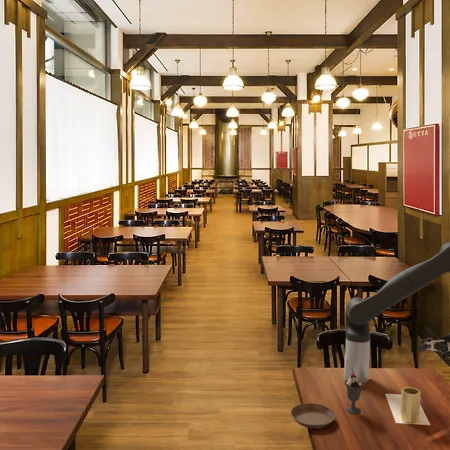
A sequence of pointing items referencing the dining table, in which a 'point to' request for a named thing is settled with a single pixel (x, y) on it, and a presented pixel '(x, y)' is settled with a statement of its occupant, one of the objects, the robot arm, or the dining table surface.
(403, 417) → the sleeve
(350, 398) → the sundae
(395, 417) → the mat
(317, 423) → the saucer
